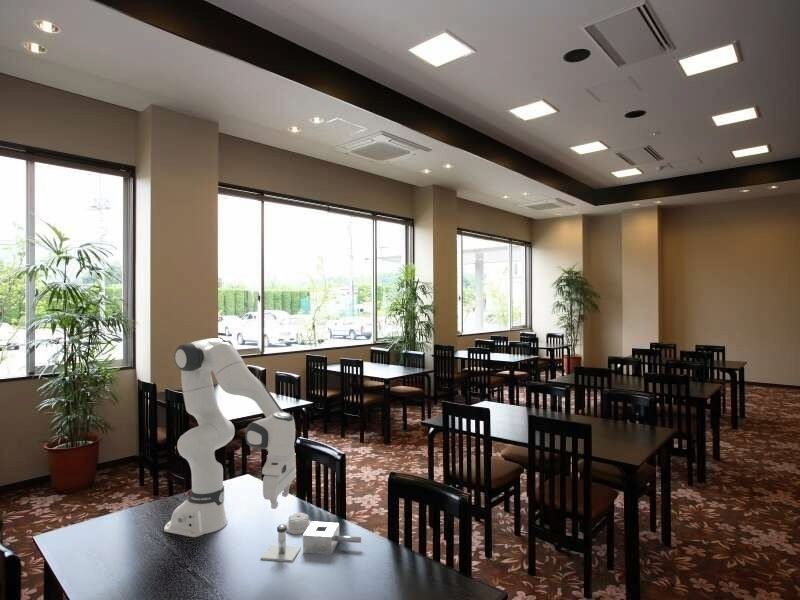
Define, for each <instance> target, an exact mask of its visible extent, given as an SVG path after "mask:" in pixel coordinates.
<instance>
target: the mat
mask: <svg viewBox="0 0 800 600" xmlns="http://www.w3.org/2000/svg"><path fill="white" fill-rule="evenodd" d="M301 549H302V548H301V547H299V546H287V545H286V553H284V554H279V553H278V545H273V544H272V545H271V544H270V545H269V547H268V548H267V549H266V550H265V552H264V553H263V554H262V555H261V557H260V560H261V561H262V560H263V561H274V562H275V561H278V562H290V563H293V561H294V560H295V559H296V558H297V556H298V554H299V553H300V551H301Z"/></svg>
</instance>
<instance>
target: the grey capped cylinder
mask: <svg viewBox="0 0 800 600" xmlns="http://www.w3.org/2000/svg"><path fill="white" fill-rule="evenodd" d="M276 531H277V533H278V538H277V539H278V540H277V541H278V542H277V543H278V545H277V546H278V553H279V554H284V553H286V546H287V544H286V543H287V541H286V537H287V533H286V532H287V526H286V523H285V524H284V523H281V524H279V525H277V527H276Z"/></svg>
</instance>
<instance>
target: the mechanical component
mask: <svg viewBox="0 0 800 600" xmlns="http://www.w3.org/2000/svg"><path fill="white" fill-rule="evenodd" d="M309 517H310V516H309V514H308V513H305V512H297V513H293V514H292V515H291V514H290V515H289V516H288V522H286V523H285V525H286V526H287V531H286V532H287V533H289V534H294V535H297V534H298V535H299V534H304V533H305V531H306V530H307V529H308V527H309V526H310V524H311V523H312V521H311V520H310V518H309Z"/></svg>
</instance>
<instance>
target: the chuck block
mask: <svg viewBox="0 0 800 600" xmlns="http://www.w3.org/2000/svg"><path fill="white" fill-rule="evenodd" d="M311 522H312V523H311V524H310V526H309V527H308V529H307V530H306V531H305V532H304V533H302V552H303V553H306V554H317V555H318V554H319V555H332V554H333V553H334V550H335V549H336V547H337V545H338V543H339V542H343V543H357V544H362V543H361V542H362V537H361V536H351V535H350V536H348V535H340V523H339V522H327V521H326V522H325V521H315V520H314V521H311ZM303 553H302V554H303Z"/></svg>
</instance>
